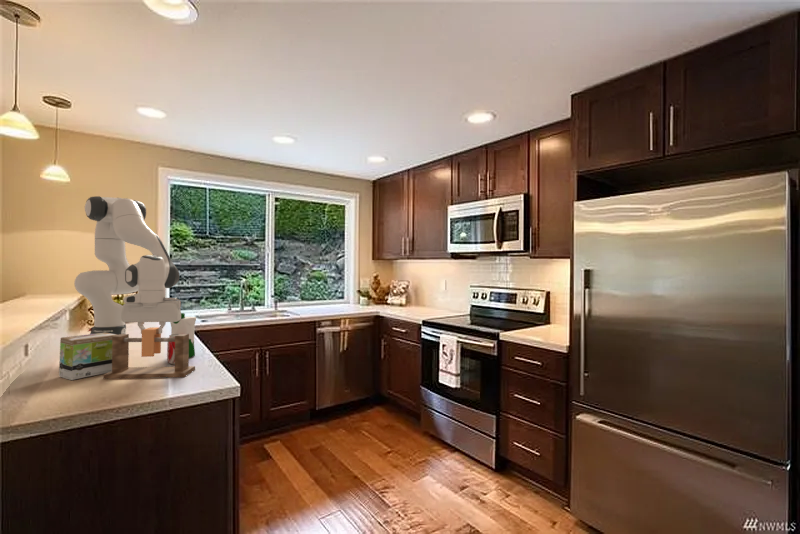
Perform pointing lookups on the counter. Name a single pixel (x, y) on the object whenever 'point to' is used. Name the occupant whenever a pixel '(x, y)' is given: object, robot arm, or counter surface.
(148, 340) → the tall peach brick
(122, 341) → the hanger stand
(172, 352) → the soda can
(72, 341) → the tea box
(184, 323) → the milk carton
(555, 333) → the counter surface
